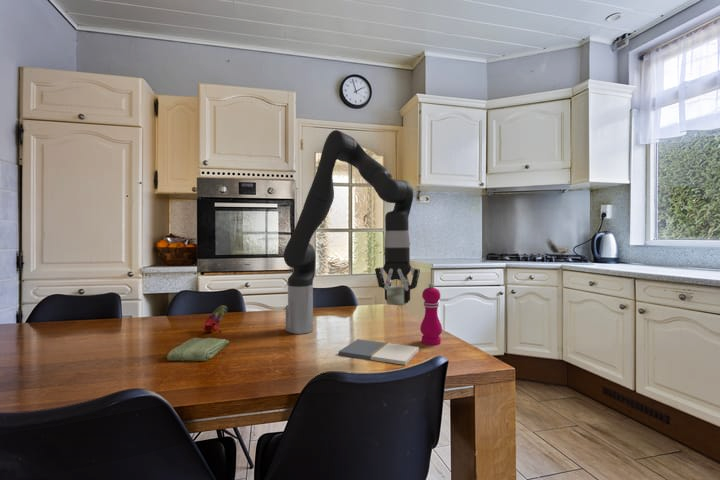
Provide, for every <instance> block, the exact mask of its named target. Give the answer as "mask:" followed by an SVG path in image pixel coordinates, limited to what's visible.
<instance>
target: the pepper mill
mask: <svg viewBox="0 0 720 480" xmlns="http://www.w3.org/2000/svg"><path fill="white" fill-rule="evenodd" d="M421 297H422V300H423V307H424V309H425V310H424V311H425V312H424V317H423V319H422V320H421V321H422V322H421V324H420V329H419V330H420V333H421V334H422V336H421V343H422V344H424V345H429V346H435V345H436V346H437V345H440V344H441V343H442V342H441V341H442V340H441V339H442V338H441V336H440V335H441V334H442V333H443V327H442V324H441V321H440V319H439V317H438V308H439V307H440V305H439V303H440V302H439V301H440V299H441V292H440V291H439V289H438V288H436V287H435V285H434V283H433V282H429V283H428V287H426V288H424V290H423V291H422V294H421Z"/></svg>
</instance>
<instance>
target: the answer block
mask: <svg viewBox="0 0 720 480" xmlns="http://www.w3.org/2000/svg"><path fill="white" fill-rule="evenodd" d="M404 291H405V288H404V286H403V285H391V286H390V287H388V288H387V300H386V305H387V306H389V305H390V306H405V305H406V304H407V303H404Z"/></svg>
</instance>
